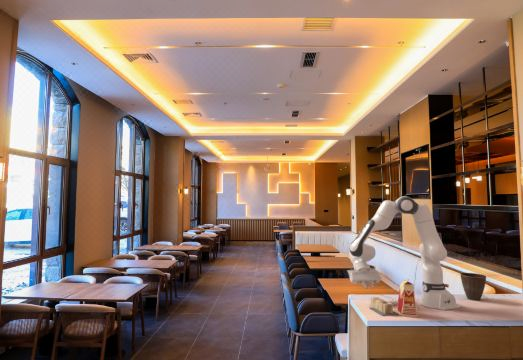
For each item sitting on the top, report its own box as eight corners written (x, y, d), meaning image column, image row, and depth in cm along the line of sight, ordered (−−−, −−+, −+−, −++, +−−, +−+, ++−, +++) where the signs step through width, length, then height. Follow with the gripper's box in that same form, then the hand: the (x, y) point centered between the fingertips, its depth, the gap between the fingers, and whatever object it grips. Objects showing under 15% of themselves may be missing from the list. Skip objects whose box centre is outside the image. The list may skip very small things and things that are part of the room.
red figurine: (418, 317, 192) (417, 280, 193) (401, 316, 193) (400, 279, 194) (413, 312, 201) (412, 277, 202) (396, 311, 202) (396, 276, 203)
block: (378, 297, 211) (392, 304, 196) (378, 305, 210) (392, 313, 196) (370, 297, 210) (384, 304, 195) (371, 306, 209) (384, 313, 195)
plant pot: (492, 302, 223) (491, 277, 224) (468, 302, 224) (468, 277, 225) (478, 296, 238) (477, 273, 239) (456, 296, 239) (455, 272, 240)
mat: (384, 307, 208) (384, 306, 208) (398, 314, 195) (398, 313, 195) (369, 308, 206) (369, 307, 206) (382, 315, 193) (382, 314, 193)
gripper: (348, 266, 222) (356, 285, 212) (377, 266, 226) (385, 284, 216) (345, 272, 226) (352, 291, 216) (373, 271, 230) (382, 290, 220)
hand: (369, 288), depth 216 cm, fingers open, 2 cm apart
